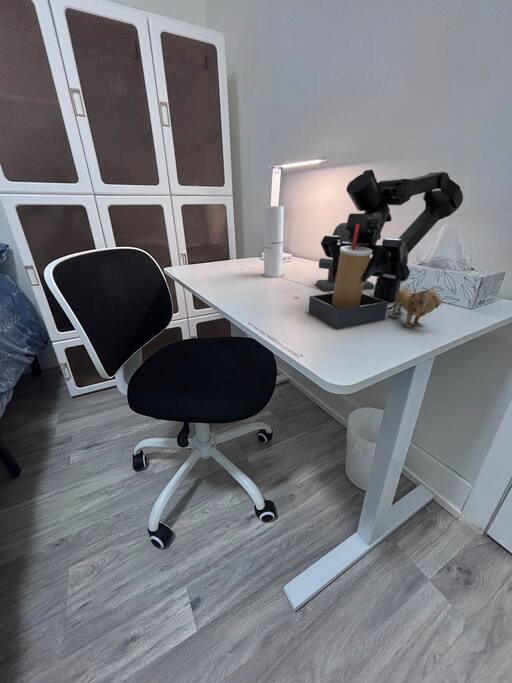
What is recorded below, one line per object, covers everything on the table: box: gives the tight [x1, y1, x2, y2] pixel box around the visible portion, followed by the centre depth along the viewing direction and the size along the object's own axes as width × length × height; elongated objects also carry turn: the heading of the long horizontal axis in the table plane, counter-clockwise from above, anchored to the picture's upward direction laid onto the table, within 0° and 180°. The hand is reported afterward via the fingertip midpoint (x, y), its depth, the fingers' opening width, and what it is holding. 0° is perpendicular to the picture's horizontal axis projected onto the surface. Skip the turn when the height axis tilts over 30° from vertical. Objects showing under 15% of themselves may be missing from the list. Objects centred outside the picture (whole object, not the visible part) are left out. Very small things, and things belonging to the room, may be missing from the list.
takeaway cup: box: [332, 224, 372, 309], centre depth 68 cm, size 7×7×19 cm
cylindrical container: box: [263, 205, 285, 278], centre depth 111 cm, size 7×7×25 cm
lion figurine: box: [386, 289, 443, 328], centre depth 68 cm, size 15×5×9 cm, turn 13°
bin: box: [308, 292, 389, 330], centre depth 73 cm, size 14×12×4 cm
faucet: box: [315, 222, 375, 292], centre depth 98 cm, size 18×16×20 cm
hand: (347, 278), depth 68 cm, fingers closed on takeaway cup, 7 cm apart
